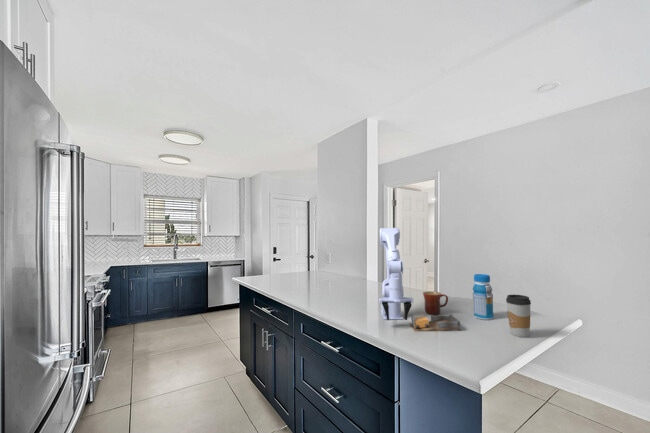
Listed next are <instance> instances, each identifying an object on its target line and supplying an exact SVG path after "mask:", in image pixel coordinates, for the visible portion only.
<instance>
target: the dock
mask: <svg viewBox="0 0 650 433" xmlns="http://www.w3.org/2000/svg"><path fill="white" fill-rule="evenodd" d="M428 322H429V327H423V328H418V329H417V328H414V326H413V325H412V322H411V323H408V325H409V326H410V328H411V329H412V330H413V332H415V333H416V332H460V331H461V321H460V320H458V318H456V317H455V316H453V315H452V314H449V315H430V320H428Z"/></svg>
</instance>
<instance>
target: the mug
mask: <svg viewBox="0 0 650 433" xmlns="http://www.w3.org/2000/svg"><path fill="white" fill-rule="evenodd" d="M422 295H423V297H424V298H423V299H424V312H425V314H426V315H429V316H440V314H441V310H442V309H441V308H444V307H446V306H447V305H448V303H449V297H448V295H446V294H444V293H441V292H438V291H433V290H431V291H423V292H422ZM442 297H445V301H444V303H443V304H441V298H442Z"/></svg>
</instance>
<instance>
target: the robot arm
mask: <svg viewBox="0 0 650 433" xmlns="http://www.w3.org/2000/svg"><path fill="white" fill-rule="evenodd" d="M400 237H401V231H400V228H399V227H381V228H379V241H380V242H379V243H380V246H382V247H384V250H385V260H386V261H385V263H386V278H385V279H384V280H383V281H382V283H381V285H382V287H381V288H382V289H381V290H382V291H381V292H382V297H379V299H378V303H379V304H380V316H381V318H382V319H383V320H387V321H390V320H405V321H407V320H408V315H409V313H410V310H411V308H412V304H414V298H413V297H404V287H403V273H404V263H403V260H402V259H401V255H400V250H399V249H397V246H399V243H400V239H401V238H400ZM401 304H403V311H404V312H403V313H404V314H403V316H402V307H401Z"/></svg>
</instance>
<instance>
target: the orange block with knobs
mask: <svg viewBox="0 0 650 433" xmlns="http://www.w3.org/2000/svg"><path fill="white" fill-rule="evenodd" d="M410 318H411V323H412V325H413V326H414V328H417V329H418V328H423V327H429V322H428V321H429V319H428V318H427V317H426V316H425V315H423V316H415V315H414V314H413V313H412V314H411V313H410Z"/></svg>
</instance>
